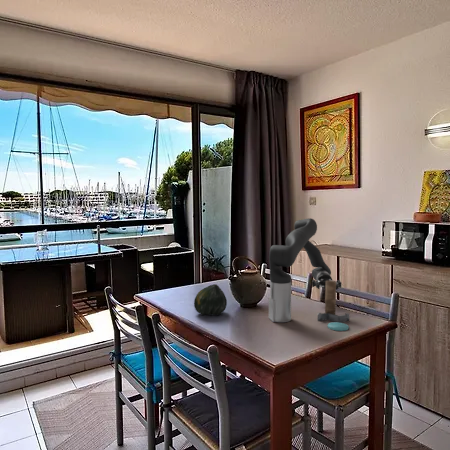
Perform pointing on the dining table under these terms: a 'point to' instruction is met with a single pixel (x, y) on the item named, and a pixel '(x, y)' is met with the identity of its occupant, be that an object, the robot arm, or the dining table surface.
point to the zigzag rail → (333, 317)
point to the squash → (210, 301)
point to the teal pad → (338, 326)
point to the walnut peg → (330, 297)
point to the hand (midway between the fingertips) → (327, 287)
